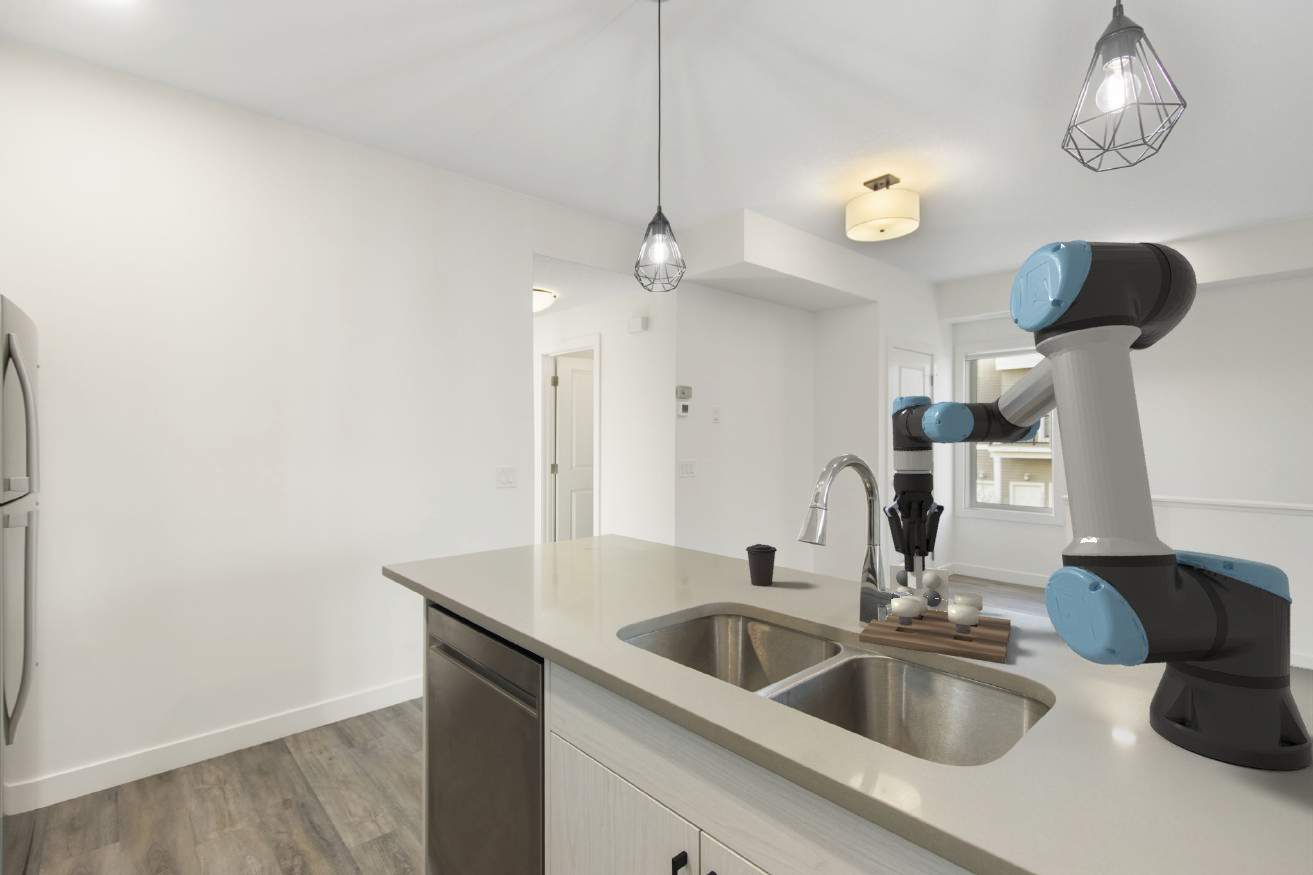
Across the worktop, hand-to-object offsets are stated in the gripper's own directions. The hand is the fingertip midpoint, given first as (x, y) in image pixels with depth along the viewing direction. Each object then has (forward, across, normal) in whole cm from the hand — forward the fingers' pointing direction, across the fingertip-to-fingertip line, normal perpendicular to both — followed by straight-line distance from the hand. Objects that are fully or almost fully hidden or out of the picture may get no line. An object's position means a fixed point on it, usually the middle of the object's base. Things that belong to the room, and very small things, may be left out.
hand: (915, 587), depth 129 cm
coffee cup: (+7, +16, -41) cm, 44 cm away
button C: (+5, -7, +7) cm, 11 cm away
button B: (+5, +7, +7) cm, 11 cm away
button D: (+7, 0, -1) cm, 7 cm away
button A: (+5, 0, +14) cm, 15 cm away
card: (+7, -9, -11) cm, 16 cm away
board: (+8, 0, +6) cm, 10 cm away
